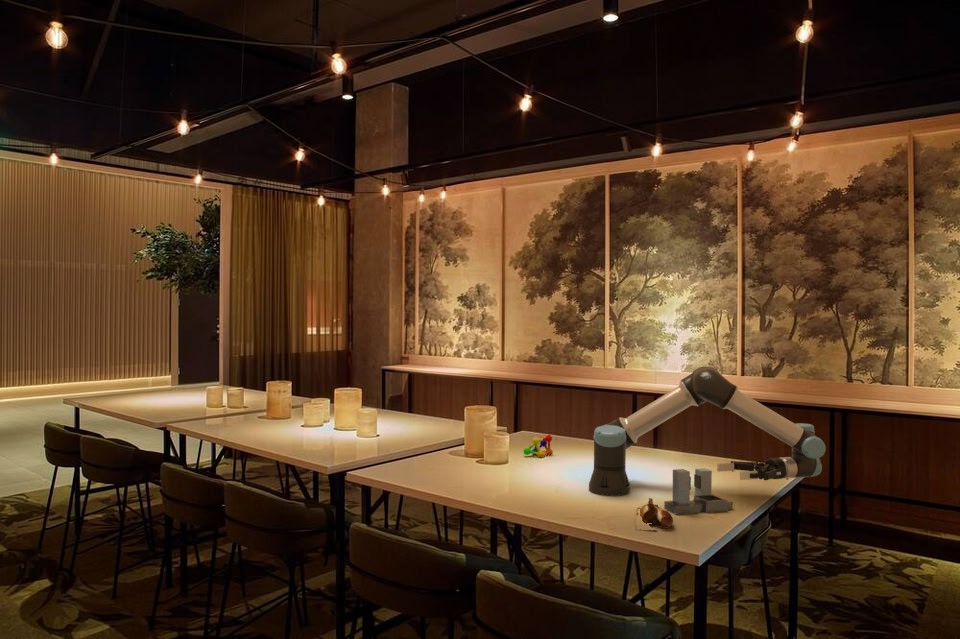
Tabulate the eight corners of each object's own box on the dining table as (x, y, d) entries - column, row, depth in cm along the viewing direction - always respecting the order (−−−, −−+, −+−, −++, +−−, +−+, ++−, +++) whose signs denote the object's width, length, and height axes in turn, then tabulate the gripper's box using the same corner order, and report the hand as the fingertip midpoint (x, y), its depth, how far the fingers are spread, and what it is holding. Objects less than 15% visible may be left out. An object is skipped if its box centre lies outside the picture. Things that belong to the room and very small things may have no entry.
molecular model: (525, 462, 321) (546, 441, 327) (540, 470, 313) (561, 448, 320) (517, 446, 315) (539, 425, 321) (532, 454, 308) (554, 432, 314)
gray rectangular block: (699, 502, 239) (699, 471, 239) (693, 499, 243) (693, 468, 243) (711, 502, 240) (711, 470, 240) (704, 499, 244) (705, 468, 244)
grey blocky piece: (676, 514, 224) (676, 473, 224) (664, 508, 231) (664, 468, 231) (735, 510, 229) (735, 470, 229) (721, 504, 237) (722, 465, 237)
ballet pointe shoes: (634, 513, 206) (632, 490, 234) (635, 535, 206) (633, 509, 234) (681, 514, 204) (674, 491, 231) (682, 537, 204) (674, 510, 231)
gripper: (804, 486, 237) (751, 490, 232) (758, 471, 261) (709, 474, 256) (804, 465, 237) (751, 468, 232) (758, 451, 261) (709, 454, 256)
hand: (728, 471), depth 244 cm, fingers open, 13 cm apart
